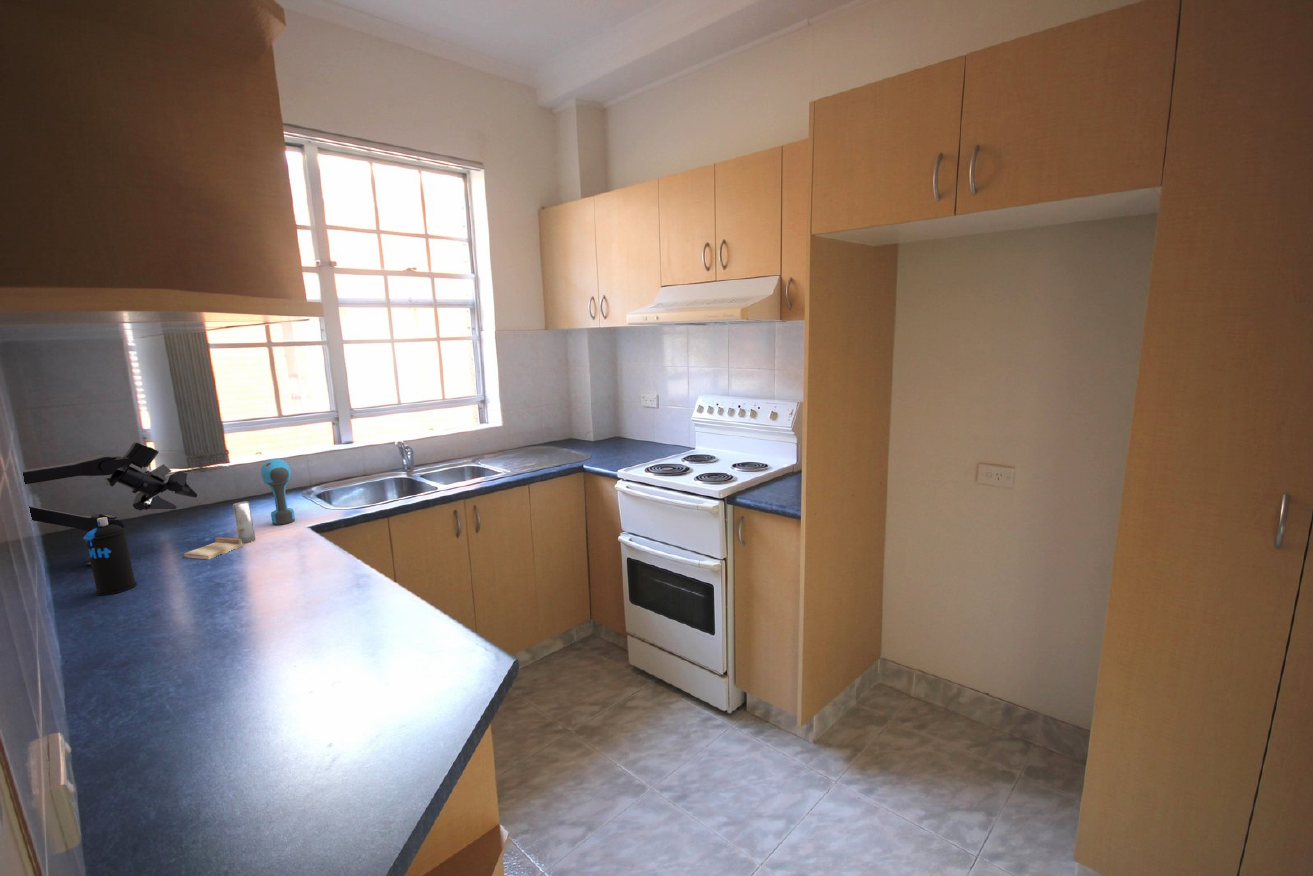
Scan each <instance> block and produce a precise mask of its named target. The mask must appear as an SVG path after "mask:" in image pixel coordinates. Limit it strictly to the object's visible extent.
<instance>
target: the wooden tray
mask: <svg viewBox="0 0 1313 876" xmlns="http://www.w3.org/2000/svg"><path fill="white" fill-rule="evenodd" d="M214 540H215V542H213V543H209V544H208V545H203V546H202V547H198V548H195V549H193V550H190V551H187V552H185V553H183V555H184V558H189V559H191V558H192V559H198V560H199V559H201V560H212V559H213V558H217V557H219V556H221V555H220V554H222V555H225V554H227V553H230V552H232V551H231V550H233V549H235V550H238V549H240V548H242V546H243V547H244V544H242V539H238V538H233V537H222V536H218V537H215V538H214ZM229 551H230V552H229ZM233 551H234V550H233ZM218 555H219V556H218ZM216 556H217V557H216Z"/></svg>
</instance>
